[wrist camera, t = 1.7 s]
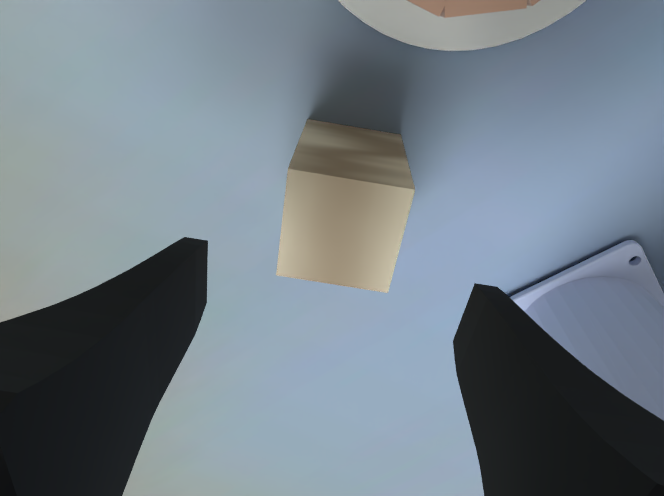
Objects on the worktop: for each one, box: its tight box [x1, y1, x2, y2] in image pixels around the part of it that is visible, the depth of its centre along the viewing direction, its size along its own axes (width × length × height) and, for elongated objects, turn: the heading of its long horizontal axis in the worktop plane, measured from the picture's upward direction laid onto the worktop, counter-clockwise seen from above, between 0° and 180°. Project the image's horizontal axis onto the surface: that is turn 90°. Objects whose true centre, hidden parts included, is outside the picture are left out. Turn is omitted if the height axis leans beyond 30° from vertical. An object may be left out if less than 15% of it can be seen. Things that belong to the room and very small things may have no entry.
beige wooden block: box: [276, 119, 415, 293], centre depth 18 cm, size 4×4×6 cm
